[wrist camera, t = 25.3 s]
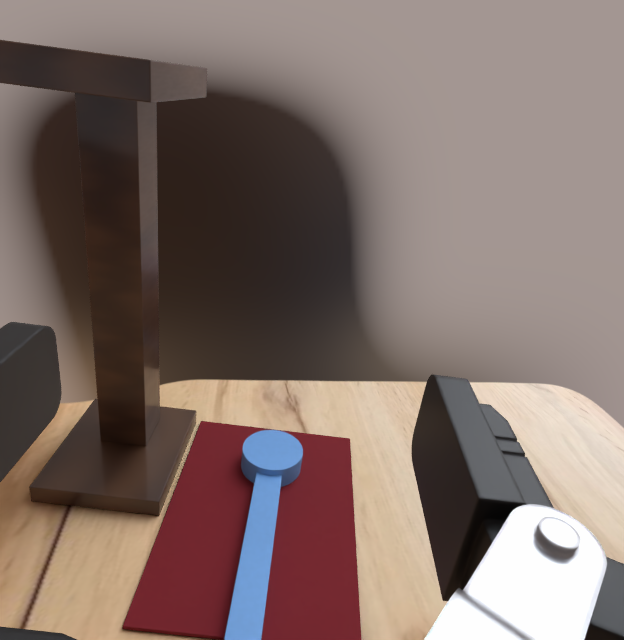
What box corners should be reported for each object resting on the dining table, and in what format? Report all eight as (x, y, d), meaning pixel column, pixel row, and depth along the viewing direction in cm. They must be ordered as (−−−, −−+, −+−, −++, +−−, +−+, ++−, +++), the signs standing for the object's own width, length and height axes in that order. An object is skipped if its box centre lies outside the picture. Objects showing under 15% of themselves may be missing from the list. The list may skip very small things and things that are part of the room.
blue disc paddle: (195, 656, 30) (196, 634, 29) (246, 443, 48) (247, 426, 47) (284, 665, 30) (288, 645, 29) (302, 450, 48) (304, 433, 47)
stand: (27, 506, 39) (-50, 33, 25) (98, 407, 50) (71, 49, 37) (157, 521, 39) (150, 60, 25) (197, 419, 51) (207, 68, 37)
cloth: (122, 629, 31) (122, 626, 31) (201, 423, 50) (201, 420, 50) (361, 655, 32) (361, 652, 31) (349, 440, 51) (349, 438, 50)
